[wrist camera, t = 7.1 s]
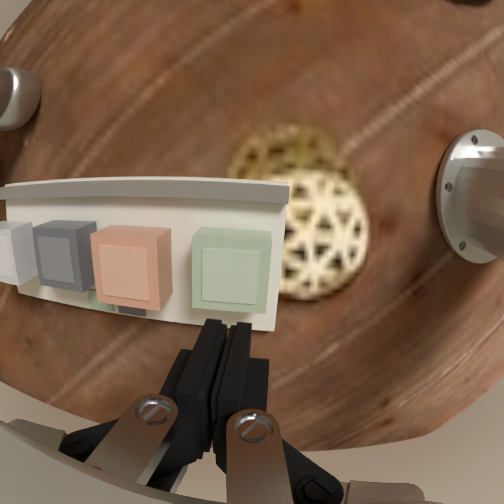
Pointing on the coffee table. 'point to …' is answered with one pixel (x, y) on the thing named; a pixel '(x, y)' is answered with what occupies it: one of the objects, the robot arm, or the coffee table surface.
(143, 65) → the coffee table surface
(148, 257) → the key terracotta
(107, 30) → the coffee table surface
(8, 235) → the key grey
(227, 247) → the key sage
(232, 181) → the keyboard base
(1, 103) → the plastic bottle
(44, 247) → the key charcoal
